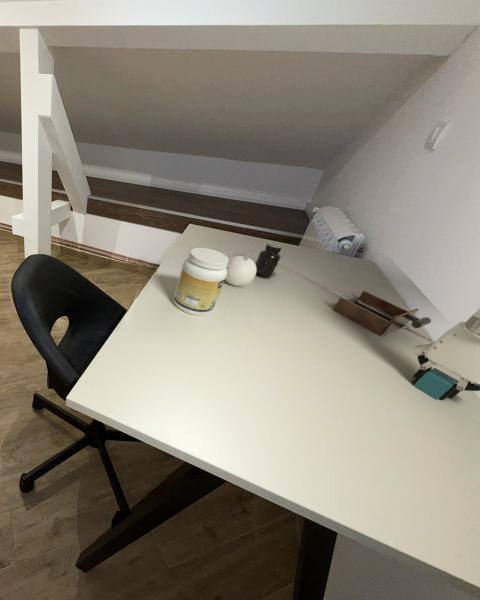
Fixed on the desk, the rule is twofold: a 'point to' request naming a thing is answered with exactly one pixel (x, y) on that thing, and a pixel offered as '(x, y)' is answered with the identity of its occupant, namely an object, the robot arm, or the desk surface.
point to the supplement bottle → (268, 260)
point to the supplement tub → (200, 281)
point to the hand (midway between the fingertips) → (429, 388)
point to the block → (435, 383)
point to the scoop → (378, 314)
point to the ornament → (240, 270)
